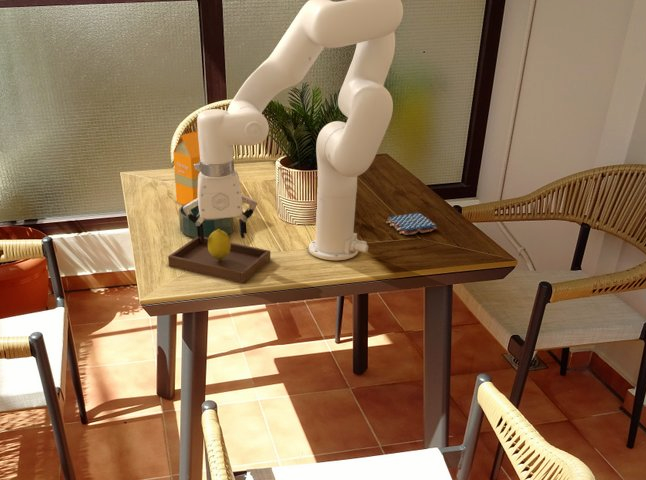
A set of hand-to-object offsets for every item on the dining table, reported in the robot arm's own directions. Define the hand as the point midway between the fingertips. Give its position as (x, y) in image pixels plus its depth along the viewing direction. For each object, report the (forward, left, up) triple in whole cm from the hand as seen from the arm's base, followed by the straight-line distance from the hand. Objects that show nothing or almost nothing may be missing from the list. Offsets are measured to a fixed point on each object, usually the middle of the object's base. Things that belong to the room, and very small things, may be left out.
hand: (222, 237), depth 175 cm
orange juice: (+28, -33, -7) cm, 44 cm away
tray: (+1, +1, -7) cm, 7 cm away
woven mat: (-34, -43, -7) cm, 55 cm away
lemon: (+1, +1, -6) cm, 6 cm away
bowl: (+14, -16, -7) cm, 23 cm away
